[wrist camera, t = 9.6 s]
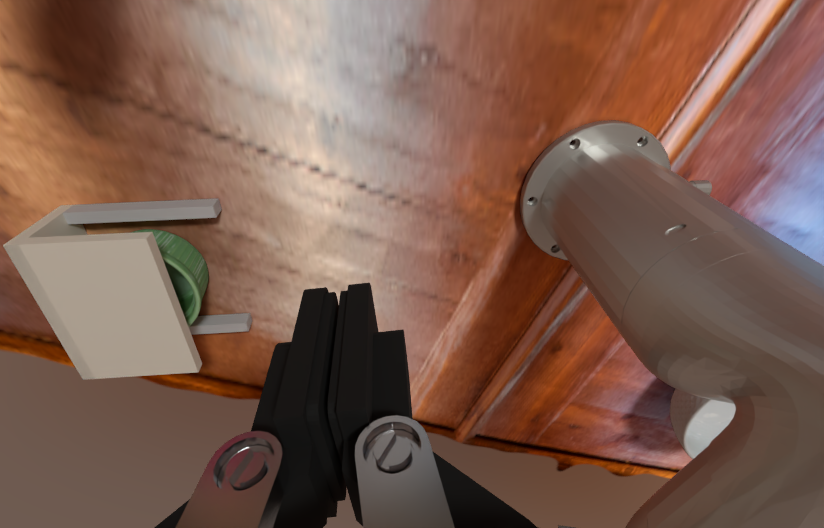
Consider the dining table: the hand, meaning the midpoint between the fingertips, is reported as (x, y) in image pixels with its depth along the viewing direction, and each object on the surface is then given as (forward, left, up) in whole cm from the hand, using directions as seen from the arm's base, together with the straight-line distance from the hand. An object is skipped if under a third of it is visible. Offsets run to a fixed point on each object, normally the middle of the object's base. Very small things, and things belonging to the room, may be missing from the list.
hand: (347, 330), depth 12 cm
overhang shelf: (+19, +13, -25) cm, 34 cm away
